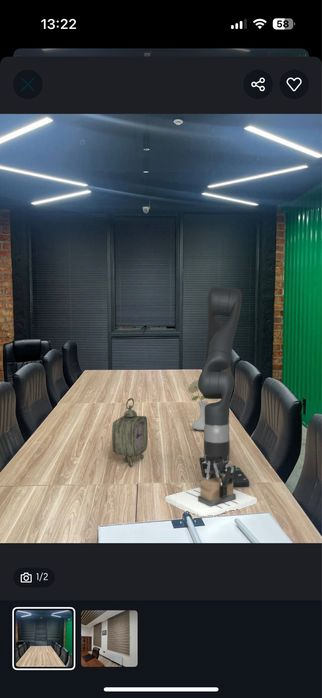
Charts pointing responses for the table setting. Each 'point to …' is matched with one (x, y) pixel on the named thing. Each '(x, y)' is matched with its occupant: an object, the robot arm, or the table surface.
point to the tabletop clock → (130, 434)
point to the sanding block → (214, 492)
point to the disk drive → (239, 479)
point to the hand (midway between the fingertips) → (217, 495)
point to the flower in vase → (200, 422)
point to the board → (191, 503)
